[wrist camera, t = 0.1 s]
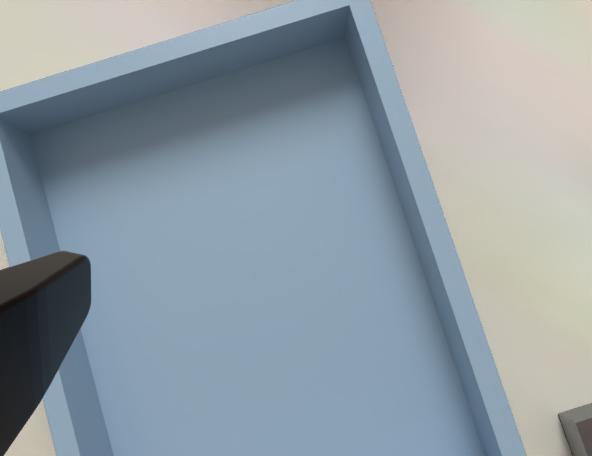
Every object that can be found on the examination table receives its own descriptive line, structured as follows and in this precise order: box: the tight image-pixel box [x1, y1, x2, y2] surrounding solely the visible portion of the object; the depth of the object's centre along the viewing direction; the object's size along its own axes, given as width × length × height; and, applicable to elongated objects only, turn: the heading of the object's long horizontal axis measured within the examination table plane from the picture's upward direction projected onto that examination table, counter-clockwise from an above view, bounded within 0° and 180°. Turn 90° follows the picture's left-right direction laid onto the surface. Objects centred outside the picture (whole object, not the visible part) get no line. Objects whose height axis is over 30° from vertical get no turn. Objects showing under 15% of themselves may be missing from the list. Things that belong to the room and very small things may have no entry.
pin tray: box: [0, 0, 527, 456], centre depth 22 cm, size 20×16×4 cm
